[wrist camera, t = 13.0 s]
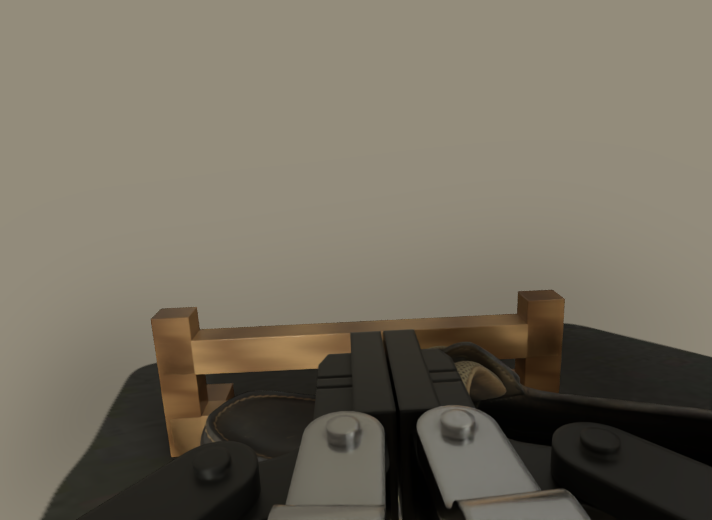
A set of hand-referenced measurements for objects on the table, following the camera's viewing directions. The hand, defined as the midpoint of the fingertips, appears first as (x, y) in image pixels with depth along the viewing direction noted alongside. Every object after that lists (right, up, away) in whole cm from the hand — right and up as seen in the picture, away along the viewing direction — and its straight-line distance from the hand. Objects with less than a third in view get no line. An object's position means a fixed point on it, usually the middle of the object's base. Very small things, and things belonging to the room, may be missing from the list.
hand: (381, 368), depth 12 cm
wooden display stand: (0, -9, +27) cm, 28 cm away
